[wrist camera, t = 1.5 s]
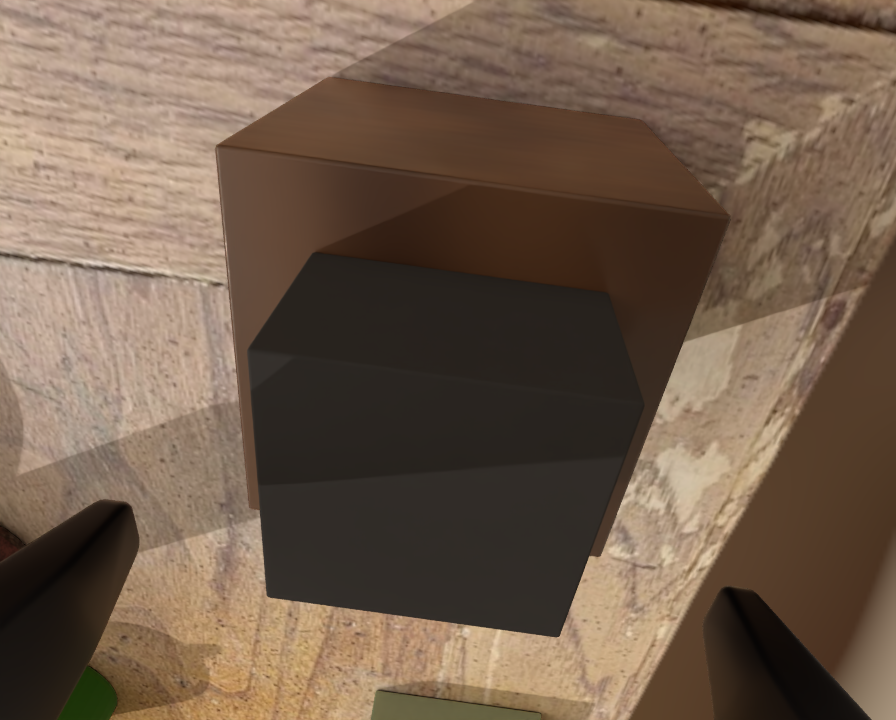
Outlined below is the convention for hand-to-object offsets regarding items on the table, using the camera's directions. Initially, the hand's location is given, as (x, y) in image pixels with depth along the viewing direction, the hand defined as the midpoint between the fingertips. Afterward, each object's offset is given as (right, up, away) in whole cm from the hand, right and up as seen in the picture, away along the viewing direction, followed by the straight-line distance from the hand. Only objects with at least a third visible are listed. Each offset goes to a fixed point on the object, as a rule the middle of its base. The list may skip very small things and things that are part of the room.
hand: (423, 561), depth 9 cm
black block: (0, +2, +4) cm, 4 cm away
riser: (+1, +7, +10) cm, 12 cm away
